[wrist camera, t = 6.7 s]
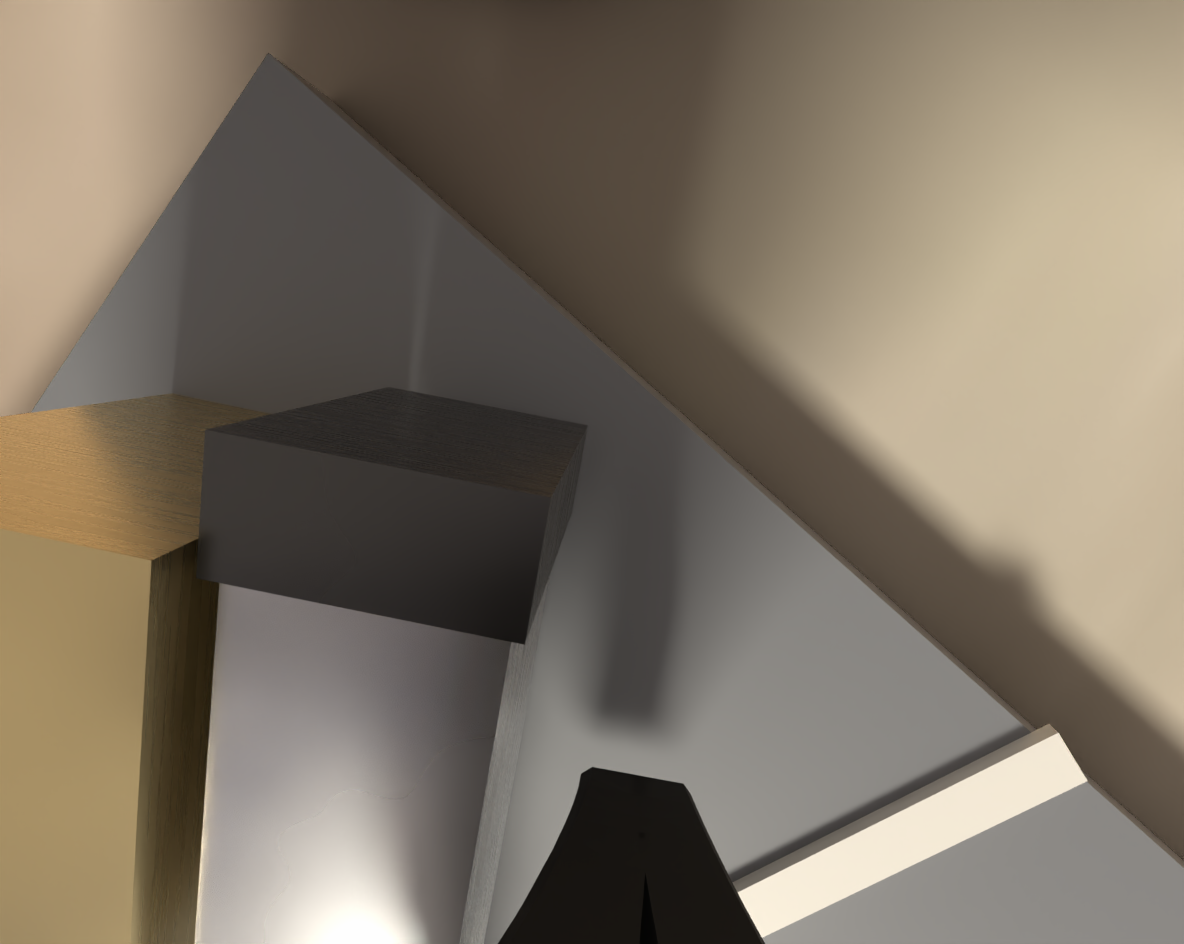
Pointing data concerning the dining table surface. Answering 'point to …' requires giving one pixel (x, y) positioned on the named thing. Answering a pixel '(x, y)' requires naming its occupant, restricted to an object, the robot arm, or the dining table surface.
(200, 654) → the tan block
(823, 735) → the plate
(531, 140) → the dining table surface
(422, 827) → the bar
